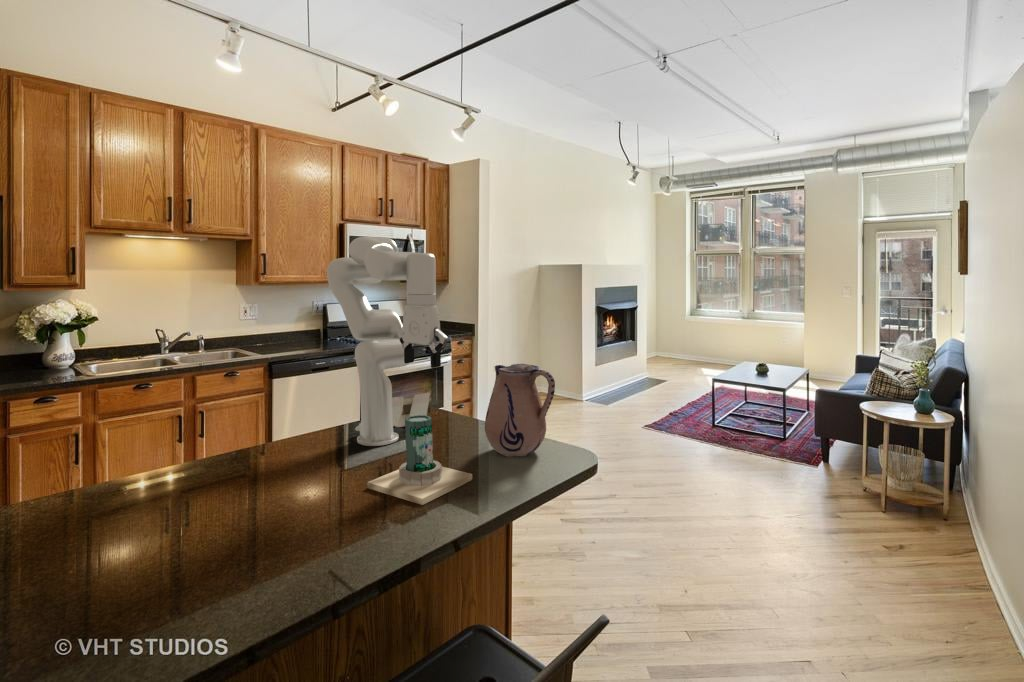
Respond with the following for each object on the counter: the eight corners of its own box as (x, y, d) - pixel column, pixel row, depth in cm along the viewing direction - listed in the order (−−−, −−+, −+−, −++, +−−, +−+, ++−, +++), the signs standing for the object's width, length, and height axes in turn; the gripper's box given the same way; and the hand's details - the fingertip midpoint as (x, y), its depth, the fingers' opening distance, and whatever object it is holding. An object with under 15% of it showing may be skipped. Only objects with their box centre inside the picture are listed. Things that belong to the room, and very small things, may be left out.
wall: (434, 435, 191) (436, 399, 201) (426, 421, 185) (429, 385, 195) (388, 441, 193) (393, 406, 203) (379, 428, 187) (384, 392, 197)
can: (422, 484, 132) (420, 423, 130) (402, 479, 135) (400, 419, 133) (437, 475, 138) (436, 417, 136) (418, 471, 140) (416, 414, 139)
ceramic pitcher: (499, 440, 171) (498, 360, 168) (565, 448, 163) (565, 364, 160) (474, 458, 155) (473, 369, 152) (546, 467, 147) (546, 374, 144)
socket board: (367, 488, 134) (366, 470, 133) (419, 466, 149) (419, 450, 148) (422, 505, 124) (422, 485, 123) (472, 479, 139) (472, 462, 138)
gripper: (387, 299, 147) (389, 363, 149) (436, 303, 137) (436, 371, 140) (408, 298, 153) (409, 359, 155) (456, 301, 143) (456, 366, 146)
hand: (422, 364), depth 147 cm, fingers open, 9 cm apart
